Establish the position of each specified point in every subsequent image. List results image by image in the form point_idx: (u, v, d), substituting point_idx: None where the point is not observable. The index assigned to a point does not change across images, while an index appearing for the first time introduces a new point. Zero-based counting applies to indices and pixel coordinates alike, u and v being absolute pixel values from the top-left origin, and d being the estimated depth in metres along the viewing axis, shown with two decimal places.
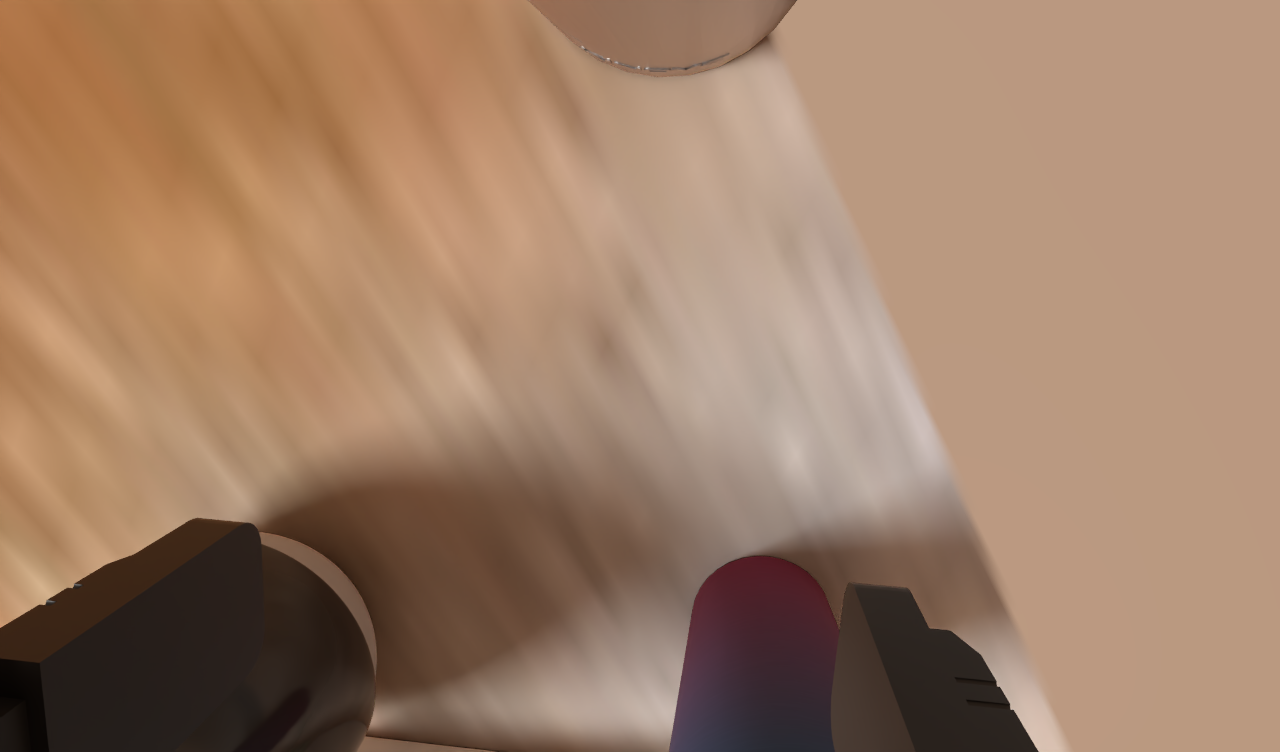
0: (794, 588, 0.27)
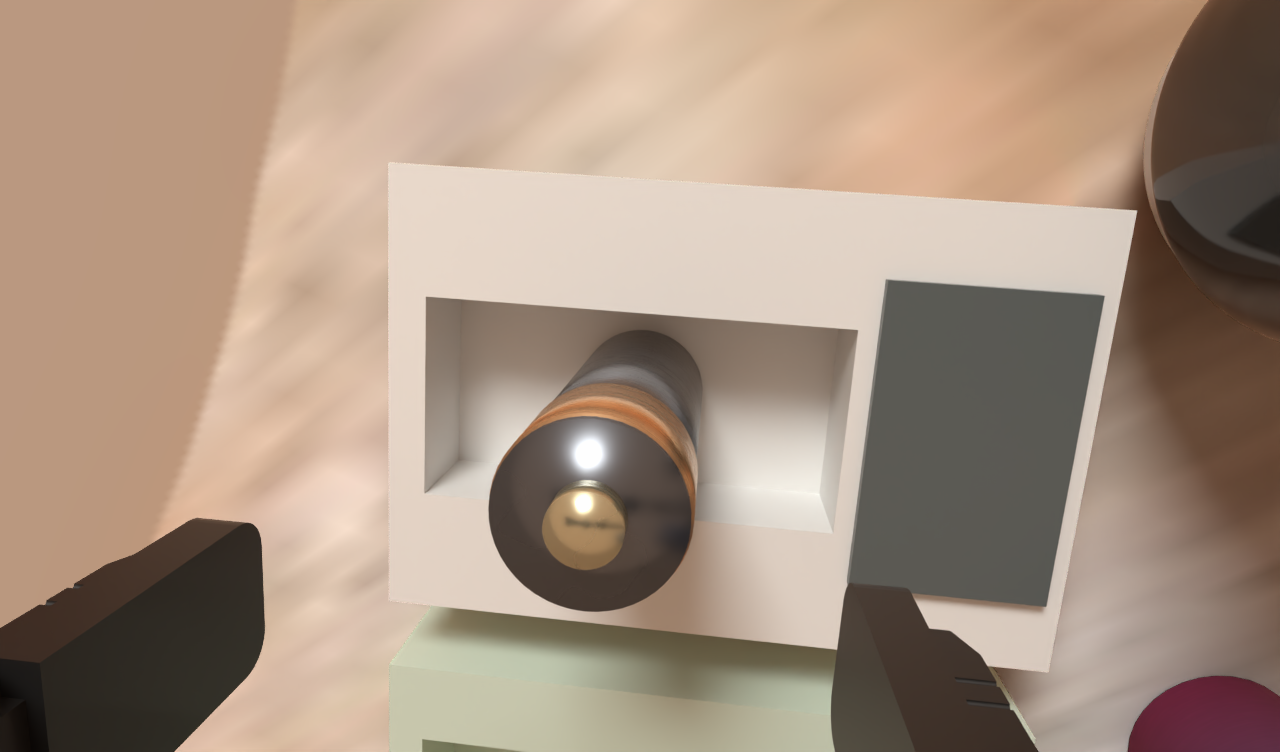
0: None
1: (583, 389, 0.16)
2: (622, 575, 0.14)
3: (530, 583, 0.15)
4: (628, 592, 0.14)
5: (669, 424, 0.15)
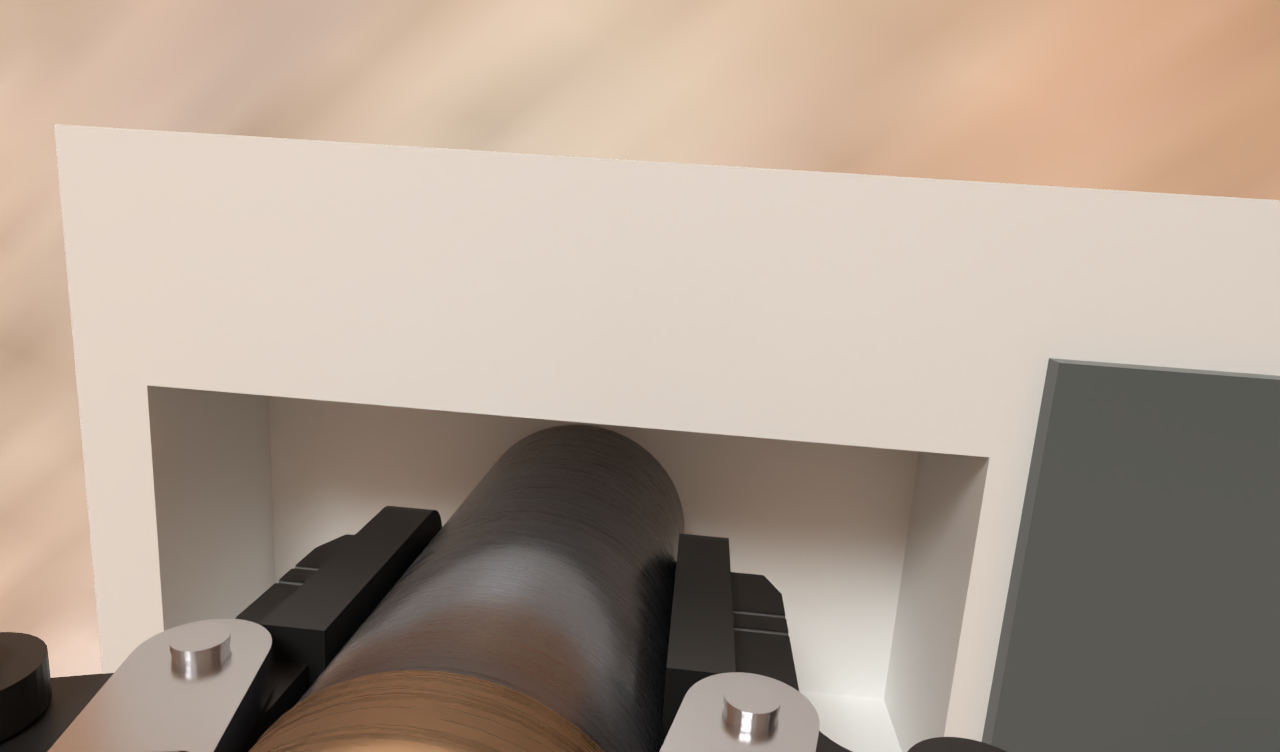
0: None
1: (354, 700, 0.06)
2: None
3: None
4: None
5: None
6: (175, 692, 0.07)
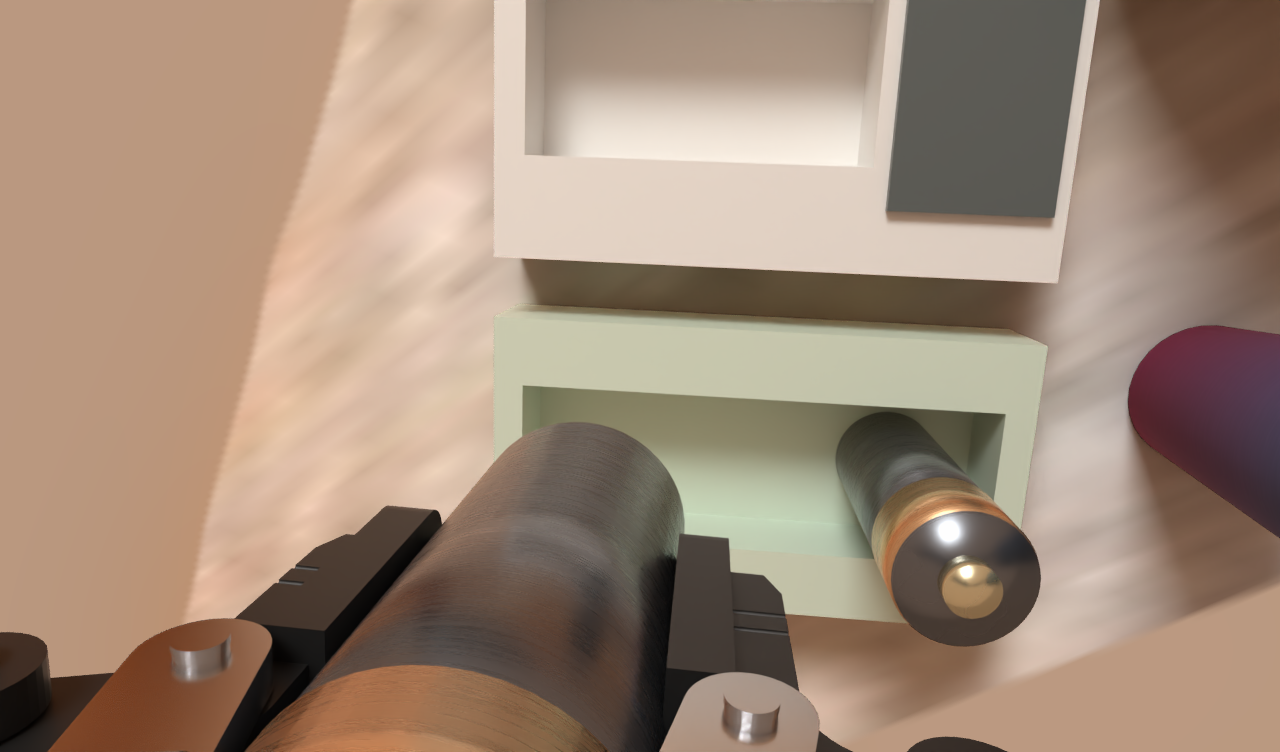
0: None
1: (355, 695, 0.06)
2: None
3: None
4: None
5: None
6: (175, 691, 0.07)
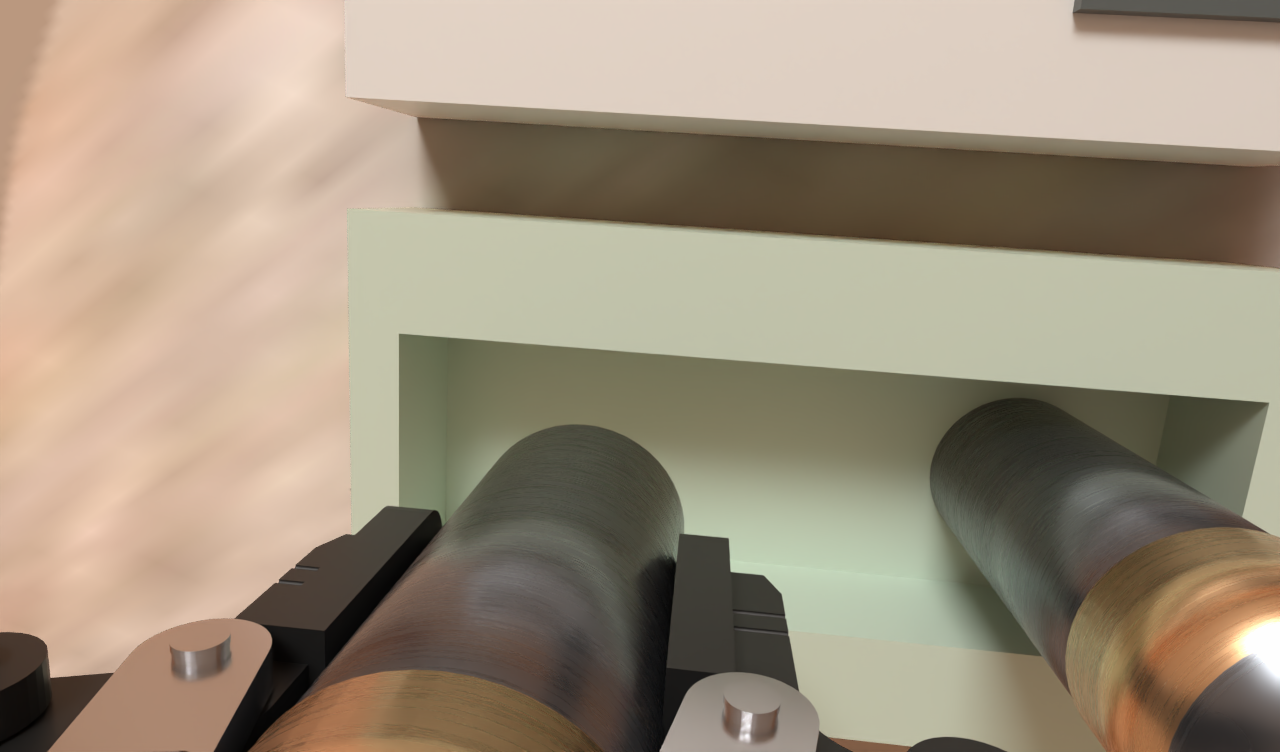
0: None
1: (354, 700, 0.06)
2: None
3: None
4: None
5: None
6: (175, 690, 0.07)
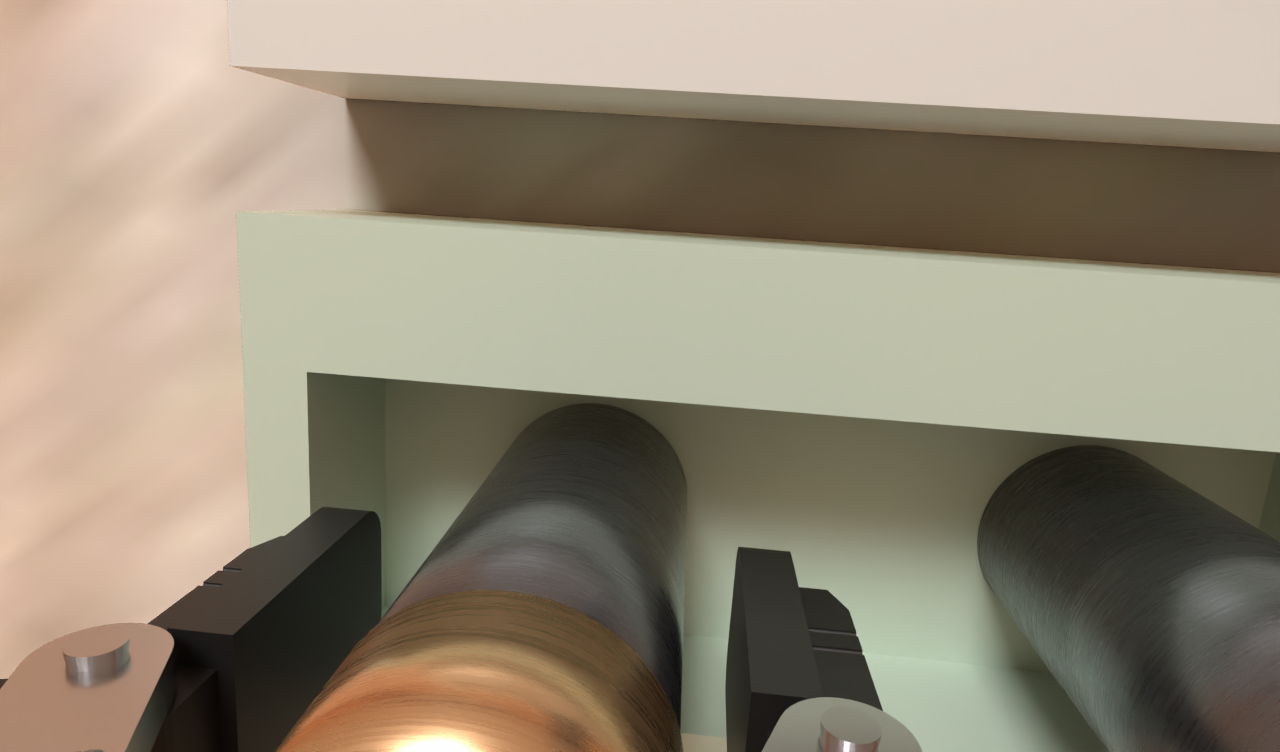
0: None
1: (436, 612, 0.07)
2: None
3: None
4: None
5: (620, 710, 0.07)
6: (75, 698, 0.07)
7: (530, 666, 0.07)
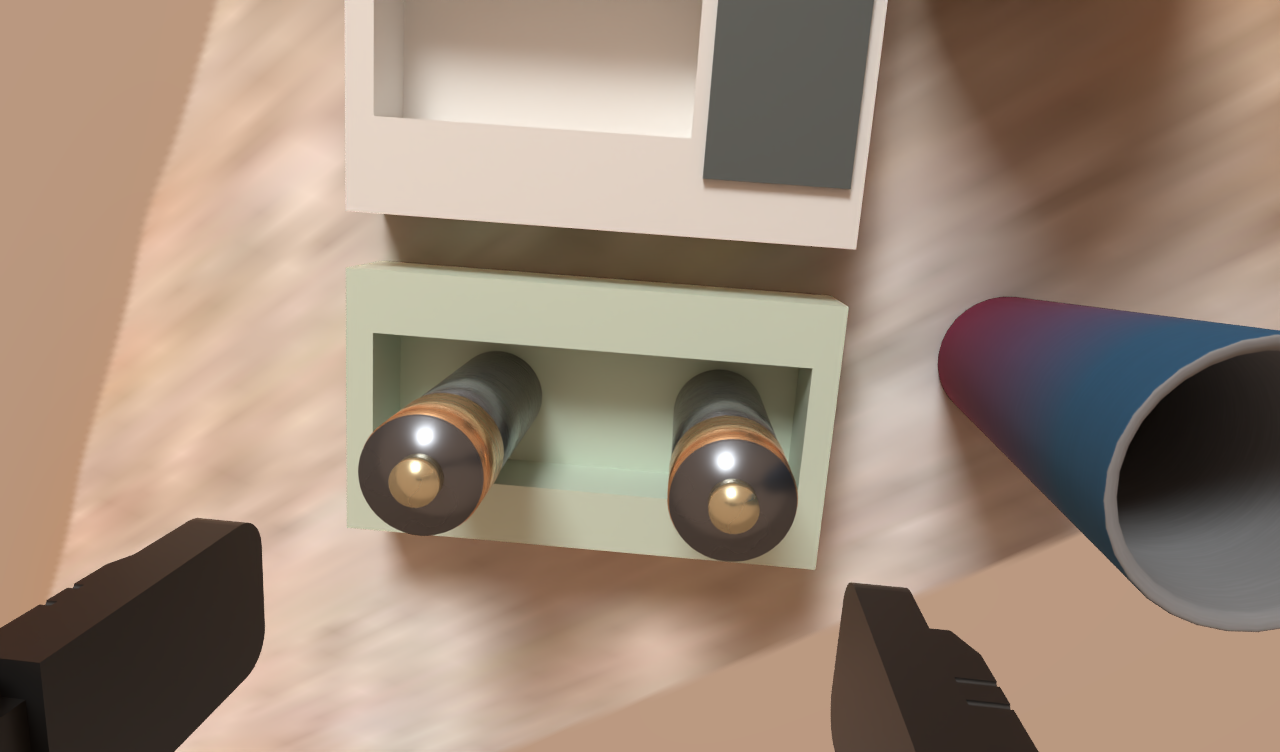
0: None
1: (425, 397, 0.25)
2: (442, 512, 0.23)
3: (386, 518, 0.24)
4: (446, 522, 0.23)
5: (477, 418, 0.24)
6: None
7: (451, 404, 0.24)
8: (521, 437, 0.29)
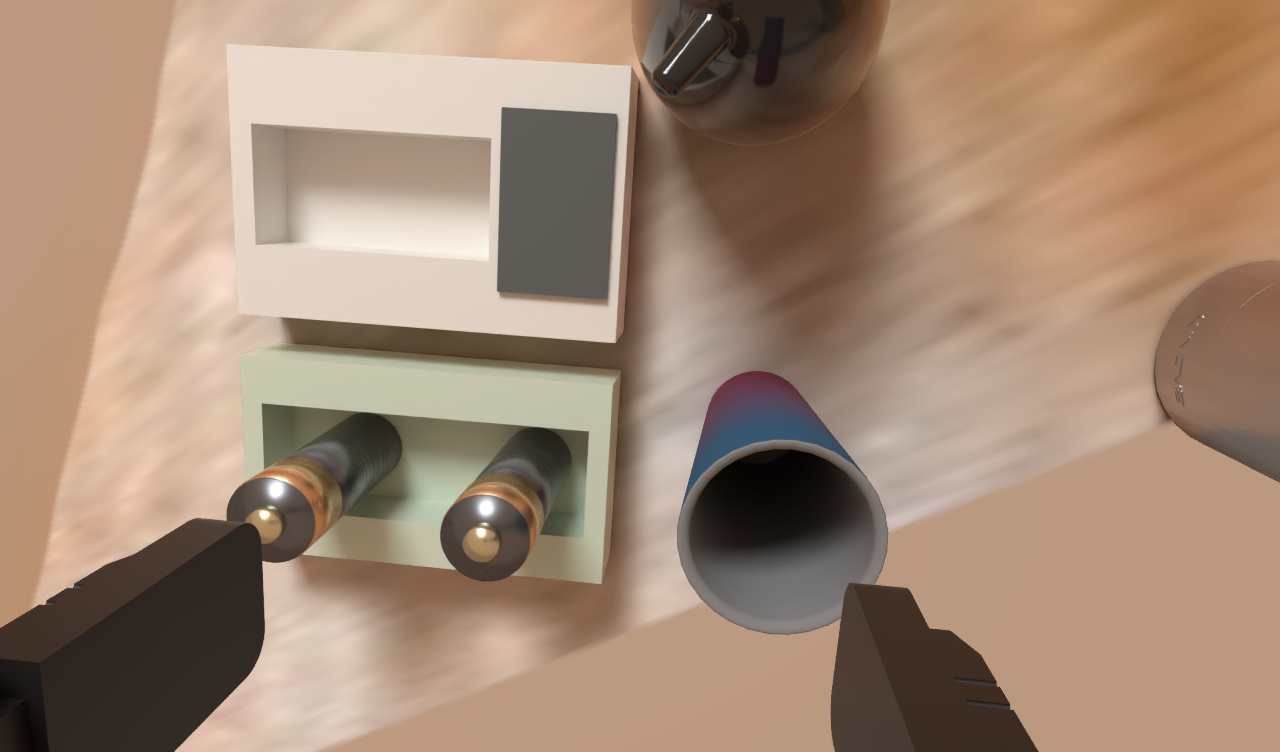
0: None
1: (282, 460, 0.34)
2: (287, 546, 0.33)
3: None
4: (290, 553, 0.33)
5: (316, 477, 0.34)
6: None
7: (297, 467, 0.34)
8: (372, 483, 0.39)
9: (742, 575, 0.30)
